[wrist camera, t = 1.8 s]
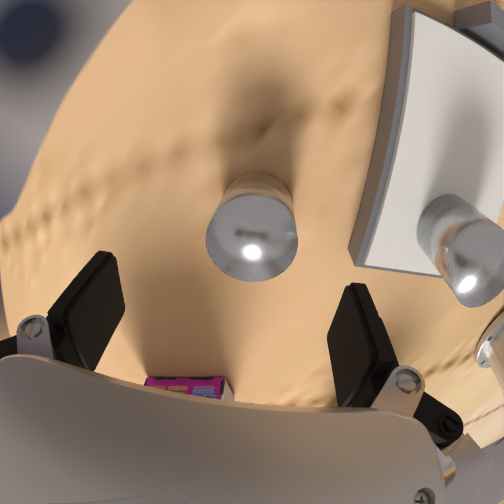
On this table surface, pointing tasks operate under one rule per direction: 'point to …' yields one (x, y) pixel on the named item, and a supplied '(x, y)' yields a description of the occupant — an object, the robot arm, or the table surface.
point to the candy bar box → (194, 386)
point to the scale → (433, 132)
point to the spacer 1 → (253, 229)
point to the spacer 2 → (463, 248)
